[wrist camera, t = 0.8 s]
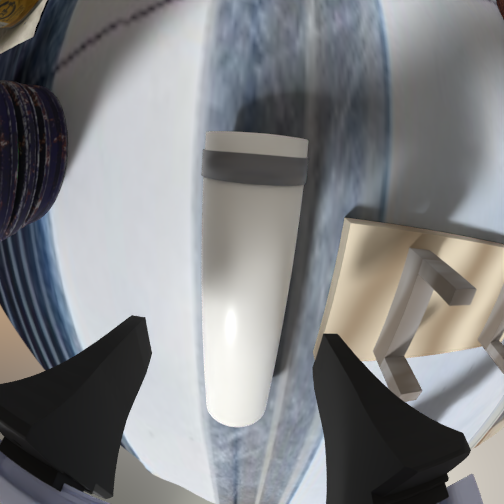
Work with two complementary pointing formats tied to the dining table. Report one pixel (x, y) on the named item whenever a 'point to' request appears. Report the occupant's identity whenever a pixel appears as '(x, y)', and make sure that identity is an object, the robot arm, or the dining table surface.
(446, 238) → the tube stand
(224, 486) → the dining table surface
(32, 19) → the condiment
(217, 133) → the tube
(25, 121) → the storage jar
